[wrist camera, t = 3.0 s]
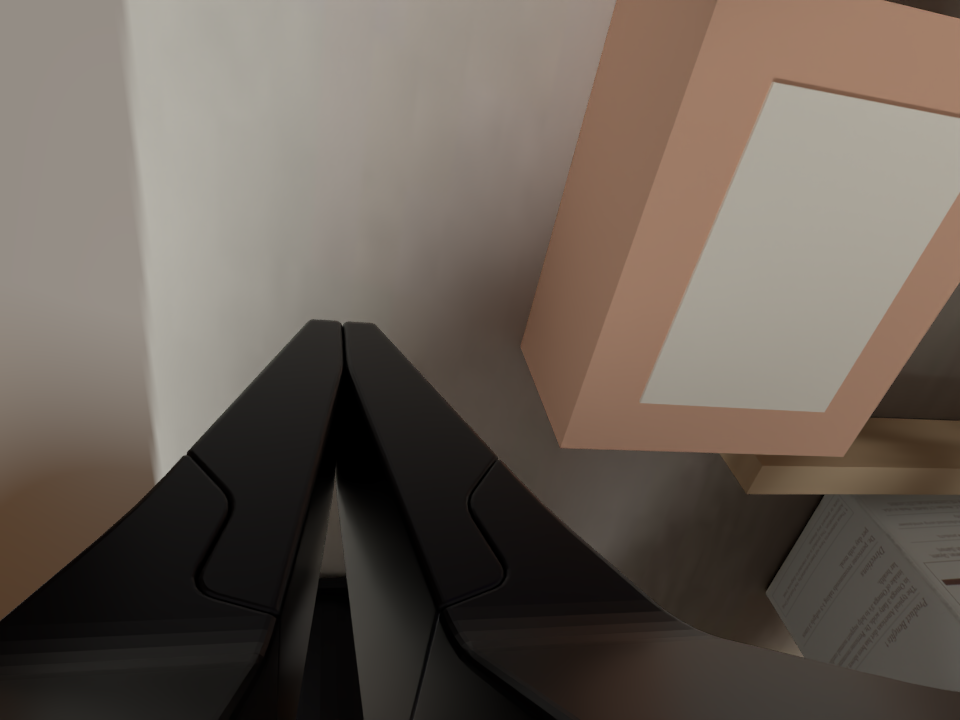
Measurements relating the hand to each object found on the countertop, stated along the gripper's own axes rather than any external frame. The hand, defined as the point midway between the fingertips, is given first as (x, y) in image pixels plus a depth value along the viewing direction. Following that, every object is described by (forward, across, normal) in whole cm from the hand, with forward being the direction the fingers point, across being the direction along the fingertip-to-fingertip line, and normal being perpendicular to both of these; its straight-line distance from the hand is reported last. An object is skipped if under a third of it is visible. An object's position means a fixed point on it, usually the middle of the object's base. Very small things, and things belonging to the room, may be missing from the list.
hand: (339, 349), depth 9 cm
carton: (+8, -10, 0) cm, 12 cm away
